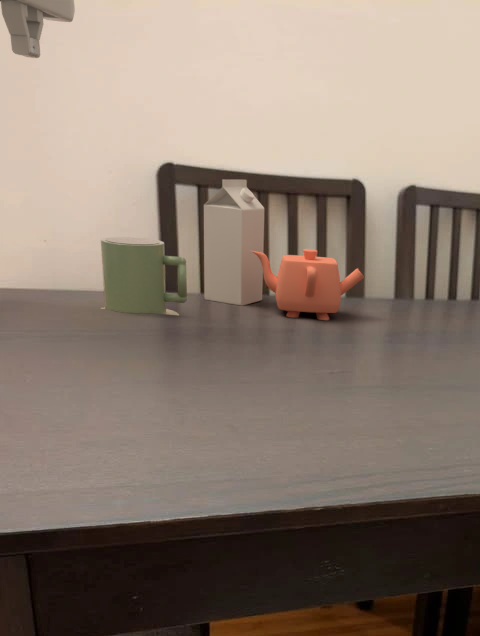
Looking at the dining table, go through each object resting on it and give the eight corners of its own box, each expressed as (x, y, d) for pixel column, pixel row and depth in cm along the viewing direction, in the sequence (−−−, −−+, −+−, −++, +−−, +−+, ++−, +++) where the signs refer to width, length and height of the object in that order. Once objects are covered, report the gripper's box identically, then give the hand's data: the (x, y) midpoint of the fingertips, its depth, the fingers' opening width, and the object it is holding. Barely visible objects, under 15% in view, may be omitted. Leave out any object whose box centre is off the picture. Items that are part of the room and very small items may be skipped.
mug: (79, 323, 99) (73, 241, 95) (107, 306, 110) (103, 232, 106) (177, 331, 99) (175, 250, 95) (196, 313, 110) (195, 240, 106)
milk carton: (203, 300, 121) (203, 177, 113) (226, 295, 127) (227, 177, 119) (241, 307, 119) (242, 181, 111) (262, 301, 125) (265, 181, 117)
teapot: (315, 304, 126) (318, 243, 122) (364, 317, 119) (369, 253, 114) (249, 311, 116) (250, 245, 112) (298, 326, 109) (301, 256, 105)
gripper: (29, -73, 83) (40, 64, 89) (-78, -140, 65) (-55, 39, 70) (84, -68, 83) (92, 69, 89) (-8, -134, 65) (10, 45, 70)
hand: (26, 56), depth 79 cm, fingers closed
